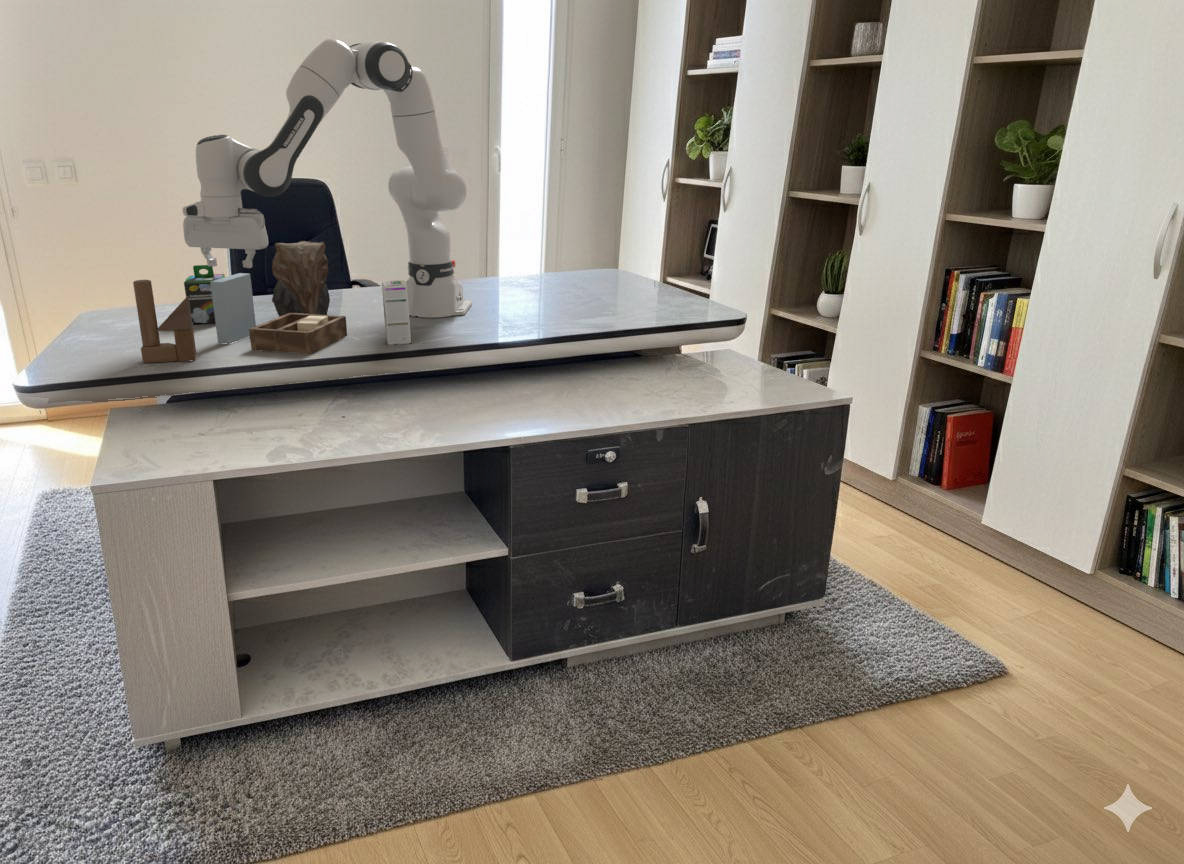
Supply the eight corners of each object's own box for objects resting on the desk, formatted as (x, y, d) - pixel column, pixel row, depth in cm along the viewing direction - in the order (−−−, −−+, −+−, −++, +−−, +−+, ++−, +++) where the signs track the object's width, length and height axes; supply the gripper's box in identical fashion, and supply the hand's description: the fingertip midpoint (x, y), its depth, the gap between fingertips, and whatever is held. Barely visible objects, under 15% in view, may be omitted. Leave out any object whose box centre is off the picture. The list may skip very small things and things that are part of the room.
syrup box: (411, 343, 225) (408, 284, 220) (386, 345, 223) (383, 285, 218) (409, 338, 230) (405, 280, 225) (384, 339, 228) (381, 281, 223)
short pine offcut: (310, 323, 227) (309, 315, 226) (328, 324, 226) (328, 316, 226) (297, 331, 219) (297, 322, 218) (316, 331, 219) (316, 323, 218)
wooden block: (195, 361, 208) (184, 281, 202) (142, 363, 205) (130, 282, 199) (197, 357, 211) (186, 278, 205) (145, 359, 208) (133, 279, 202)
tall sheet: (245, 332, 233) (239, 273, 228) (256, 333, 233) (250, 273, 228) (218, 344, 222) (210, 281, 217) (229, 344, 222) (221, 282, 217)
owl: (272, 320, 247) (264, 244, 240) (301, 310, 258) (294, 238, 252) (312, 324, 243) (305, 247, 236) (340, 314, 254) (334, 240, 248)
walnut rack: (291, 332, 234) (289, 312, 233) (347, 335, 231) (345, 316, 230) (251, 349, 217) (249, 329, 216) (311, 354, 214) (309, 333, 213)
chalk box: (230, 316, 251) (224, 261, 246) (226, 323, 243) (219, 266, 238) (194, 317, 249) (187, 262, 244) (188, 325, 241) (181, 267, 236)
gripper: (269, 207, 218) (276, 266, 223) (192, 205, 222) (200, 263, 227) (255, 210, 212) (262, 271, 217) (175, 208, 216) (184, 267, 221)
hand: (230, 267), depth 222 cm, fingers open, 8 cm apart
